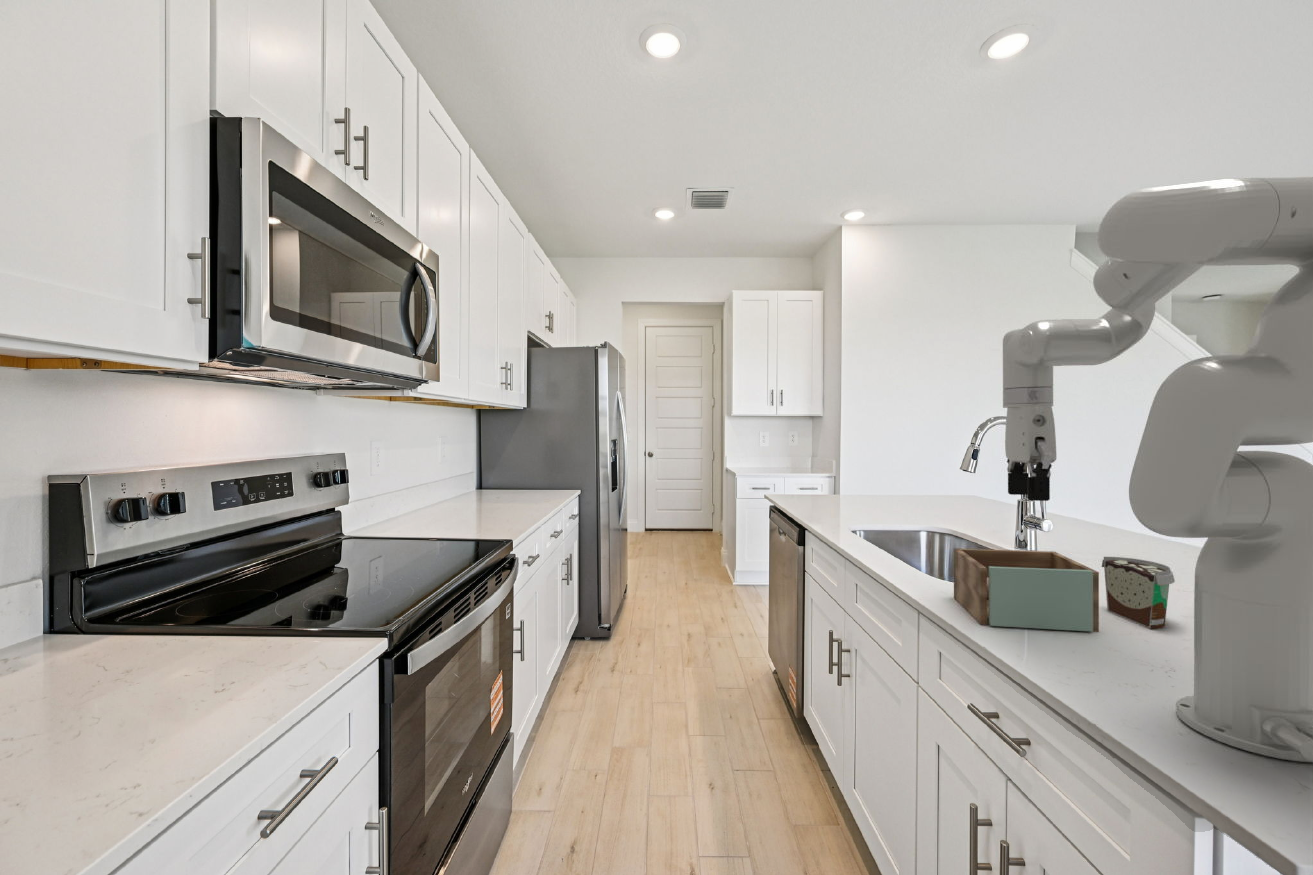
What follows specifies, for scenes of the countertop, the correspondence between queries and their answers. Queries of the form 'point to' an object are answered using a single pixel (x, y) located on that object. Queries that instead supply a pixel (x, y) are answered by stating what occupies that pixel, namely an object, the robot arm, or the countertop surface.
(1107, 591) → the food container
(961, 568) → the crate
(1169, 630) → the countertop surface
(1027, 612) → the flat green panel
